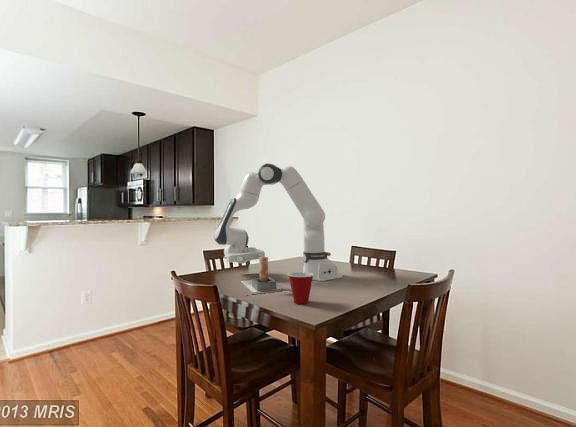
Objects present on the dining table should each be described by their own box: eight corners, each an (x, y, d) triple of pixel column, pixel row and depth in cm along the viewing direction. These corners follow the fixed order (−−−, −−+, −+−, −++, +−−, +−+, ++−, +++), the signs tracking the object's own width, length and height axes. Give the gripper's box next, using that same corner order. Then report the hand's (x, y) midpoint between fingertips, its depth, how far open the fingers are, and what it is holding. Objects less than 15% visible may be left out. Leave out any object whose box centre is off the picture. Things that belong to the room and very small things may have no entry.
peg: (266, 286, 155) (266, 256, 154) (269, 288, 151) (269, 257, 150) (258, 287, 153) (258, 257, 153) (261, 289, 149) (260, 258, 149)
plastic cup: (314, 298, 139) (314, 270, 138) (314, 306, 128) (313, 276, 128) (289, 298, 140) (288, 270, 139) (286, 306, 129) (286, 275, 129)
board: (266, 281, 170) (266, 271, 170) (282, 291, 150) (281, 281, 150) (240, 284, 165) (240, 274, 165) (252, 295, 145) (252, 284, 145)
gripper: (221, 250, 169) (232, 254, 157) (257, 247, 180) (269, 249, 168) (222, 263, 169) (232, 267, 157) (257, 258, 180) (269, 262, 168)
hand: (252, 258), depth 163 cm, fingers open, 8 cm apart
